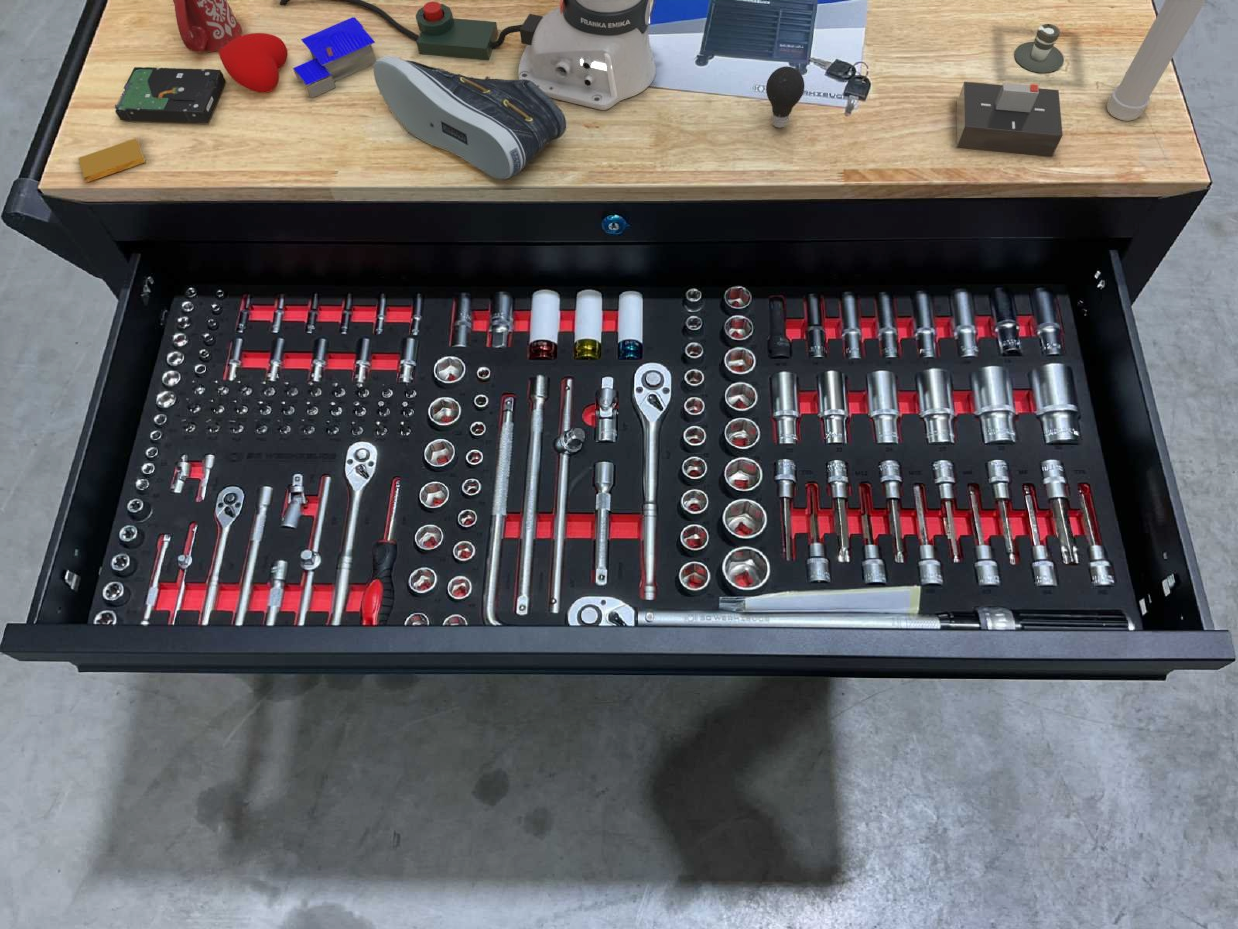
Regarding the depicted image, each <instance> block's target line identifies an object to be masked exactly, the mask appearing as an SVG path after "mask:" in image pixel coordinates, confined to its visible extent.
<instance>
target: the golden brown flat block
mask: <svg viewBox="0 0 1238 929" xmlns="http://www.w3.org/2000/svg"><path fill="white" fill-rule="evenodd" d="M77 160H78V162H79V165H80V170H81V172H82V175H83V178H84V180H85V181H86V183H89V182H90V183H91V182H92V181H95V180H98V179H101V178H104V177H107V176H109V175H110V176H111V175H113V174H115V173H119V172H121V171H124V170H127V169H130V168H133V167H136V166H139V165H141V164H144V163H146V159H145V156H144V153H143V151H142V148H141V145H140V143H139V141H138V139H137V138H133V139H128V140H125V141H124V142H121V143H118V144H114V145H112V146H109V147H106V148H103V149H100V150H97V151H95V152H91V153H89V154H86V155H83V156H80V157H78V158H77Z"/></svg>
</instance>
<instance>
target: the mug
mask: <svg viewBox="0 0 1238 929" xmlns="http://www.w3.org/2000/svg"><path fill="white" fill-rule="evenodd" d="M172 3H173V6H174V13H175V20H176V24H177V29H178V32H179V35H180V39H181V41H182V43H183V44H184V46H185V47H186V49H187V50H188V51H189V52H193V53H194V52H195V53H201V52H206V53H215V52H219V50H220V49H222V48H223V47H224V46H225V45H227V44H228V43H229V42H231V41H233V40H234V39H236V38H238V37H240V36H242V35H243V28H242V26H241V24H240V23H239V22H238V20H237V18H236V17H235V14H234V12H233V10H232V8H231V6H230V4H229V2H228V0H172Z"/></svg>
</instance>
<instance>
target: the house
mask: <svg viewBox="0 0 1238 929" xmlns="http://www.w3.org/2000/svg"><path fill="white" fill-rule="evenodd" d="M300 40H301V42H302V43H303V44H304V45H305V47H306V48H307V49H308V50H309V53H310V56H311V57H312V59H311V60H308V61H306V62H303V63H301V64H299V65H297V66H294V67H293V68H292V69H293V72H294V74H295V77H296V80H297V82H298V83H299V82H301V81H302V82H303V83H304V85H305V86H306V88H307V90H308V93H309V96H310V98H311V99H314V98H315V97H318V96H321V95H322V94H324V93H327V92H329V91H331V90H334V89H336V85H335V82H337V81H339V80H342V79H344V78H346V77H349V76H351V75H353V74H355V73H358V72H361V71H362V70H364V69H366V68H368V67H370V66H374V63H375V62H376V61H377V59H376V56H375V52H374V49H373V46H372V45H373V44H376V41H375V40H374V39H373V38H372V37H371V35H370V34H369V33H368V32H367V30H365V29H364V26H363V24H362V23H361V22H360V21H359V20H358V19H357V17H355V16H352V17H350V18H346V19H345V20H343V21H340V22H338V23H335V24H333V25H331V26H328V27H326V28H324V29H321V30H319V31H317V32H315V33H312V34H309V35H307V36H305V37H303V38H301V39H300Z"/></svg>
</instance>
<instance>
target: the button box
mask: <svg viewBox="0 0 1238 929" xmlns="http://www.w3.org/2000/svg"><path fill="white" fill-rule="evenodd" d="M440 4H441V8H442V12H443V18H441V19H440V20H438V21H427V20H426V19H425V15H424V11H423V6H422V7H420V8H418V10H417V11H416V14H415V19H416V24H417V27H418V30H419V32H420V33H419V38H418V40H417V41H416V47H417V49H418V53H419V55H428V56H439V57H448V58H449V57H451V58H461V59H471V60H484V61H489V59H490V57H491V54H492V51H493V49H492V43H493V42H495V41H497V38H498V35H499V29H498V24H497V21H489V20H479V19H467V18H456V17H455V18H454V15H453V12H452V10H451V7H450V6H448V5H446V4H444V3H440Z"/></svg>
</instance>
